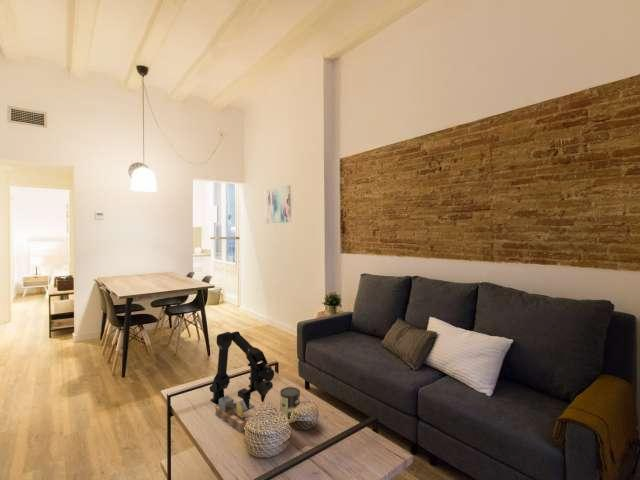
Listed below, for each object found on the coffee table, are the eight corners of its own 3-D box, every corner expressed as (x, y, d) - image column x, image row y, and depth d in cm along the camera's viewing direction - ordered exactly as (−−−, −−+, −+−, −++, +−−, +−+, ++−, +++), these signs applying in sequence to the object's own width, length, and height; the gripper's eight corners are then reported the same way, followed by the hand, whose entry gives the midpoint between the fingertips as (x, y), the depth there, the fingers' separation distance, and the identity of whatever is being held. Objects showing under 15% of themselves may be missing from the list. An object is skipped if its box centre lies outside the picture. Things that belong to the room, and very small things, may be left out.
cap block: (218, 408, 179) (218, 398, 179) (227, 404, 183) (227, 395, 183) (225, 412, 175) (225, 402, 175) (233, 408, 179) (233, 399, 179)
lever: (235, 414, 172) (235, 402, 172) (237, 413, 173) (237, 401, 173) (241, 418, 169) (241, 406, 169) (243, 417, 170) (244, 405, 170)
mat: (228, 406, 188) (228, 406, 188) (243, 400, 196) (243, 399, 196) (239, 413, 182) (239, 413, 182) (254, 406, 189) (254, 406, 189)
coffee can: (301, 414, 183) (302, 388, 182) (296, 424, 173) (297, 397, 172) (283, 411, 185) (283, 385, 184) (277, 422, 175) (277, 394, 174)
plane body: (215, 414, 180) (215, 404, 180) (225, 409, 185) (225, 400, 185) (240, 432, 165) (240, 421, 165) (251, 426, 170) (251, 416, 170)
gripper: (250, 386, 165) (250, 418, 166) (279, 374, 179) (279, 404, 180) (237, 379, 173) (236, 409, 173) (266, 368, 187) (265, 396, 187)
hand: (255, 405), depth 178 cm, fingers open, 9 cm apart
